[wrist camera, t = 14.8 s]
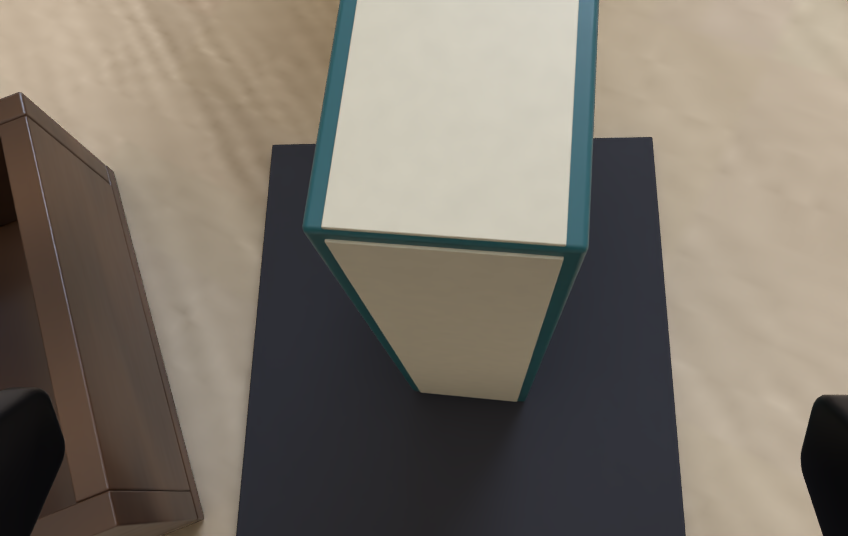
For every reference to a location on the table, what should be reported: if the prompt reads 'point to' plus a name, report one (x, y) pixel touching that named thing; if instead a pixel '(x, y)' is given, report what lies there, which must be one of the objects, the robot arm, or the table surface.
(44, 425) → the robot arm
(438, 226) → the book
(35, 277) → the wooden box
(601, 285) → the felt pad
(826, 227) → the table surface
